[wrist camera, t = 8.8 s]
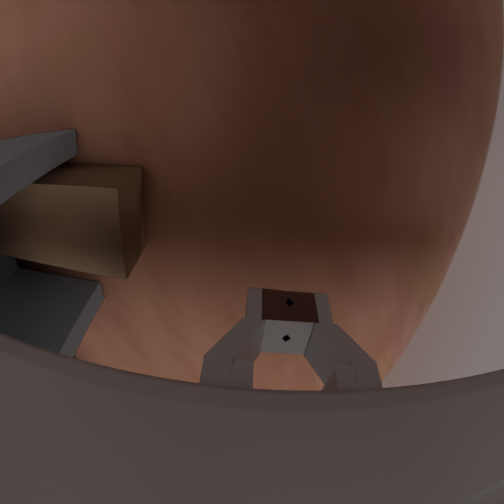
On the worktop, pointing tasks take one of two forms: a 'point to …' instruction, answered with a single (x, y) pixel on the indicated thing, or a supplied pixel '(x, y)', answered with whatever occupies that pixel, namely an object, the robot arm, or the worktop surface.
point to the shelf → (34, 282)
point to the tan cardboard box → (78, 219)
